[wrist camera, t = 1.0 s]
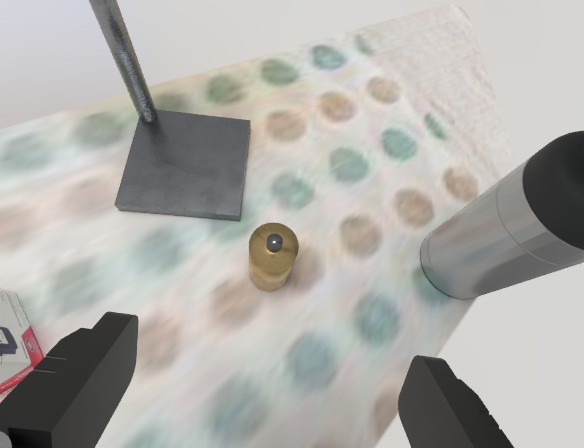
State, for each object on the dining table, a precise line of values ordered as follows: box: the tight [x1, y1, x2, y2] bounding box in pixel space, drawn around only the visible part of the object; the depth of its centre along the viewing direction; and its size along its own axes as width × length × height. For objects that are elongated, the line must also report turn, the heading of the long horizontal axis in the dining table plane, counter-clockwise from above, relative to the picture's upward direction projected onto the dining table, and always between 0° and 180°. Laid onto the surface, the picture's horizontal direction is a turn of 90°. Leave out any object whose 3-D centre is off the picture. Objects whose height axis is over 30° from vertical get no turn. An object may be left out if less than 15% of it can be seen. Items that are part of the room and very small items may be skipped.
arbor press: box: [89, 0, 250, 221], centre depth 29 cm, size 15×15×32 cm
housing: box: [249, 223, 299, 291], centre depth 34 cm, size 4×4×10 cm
